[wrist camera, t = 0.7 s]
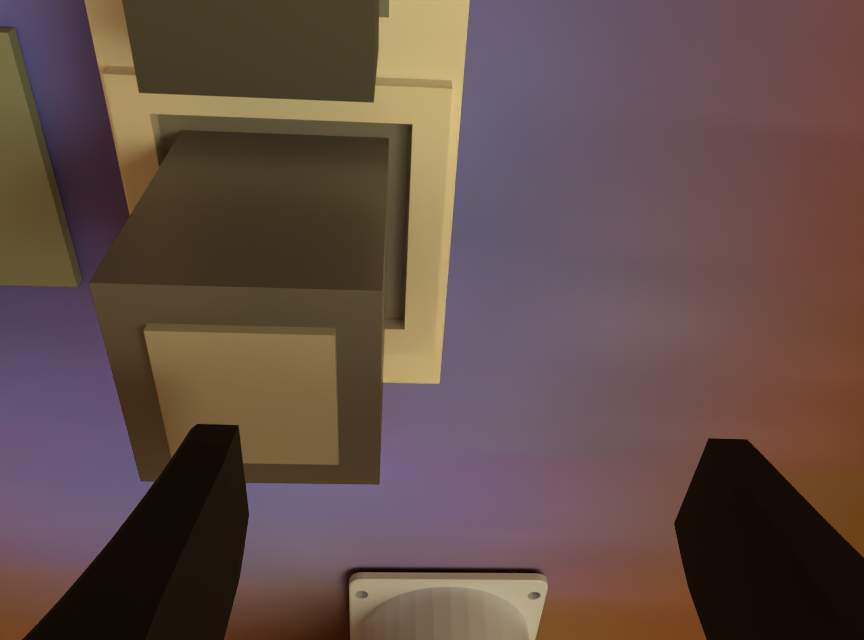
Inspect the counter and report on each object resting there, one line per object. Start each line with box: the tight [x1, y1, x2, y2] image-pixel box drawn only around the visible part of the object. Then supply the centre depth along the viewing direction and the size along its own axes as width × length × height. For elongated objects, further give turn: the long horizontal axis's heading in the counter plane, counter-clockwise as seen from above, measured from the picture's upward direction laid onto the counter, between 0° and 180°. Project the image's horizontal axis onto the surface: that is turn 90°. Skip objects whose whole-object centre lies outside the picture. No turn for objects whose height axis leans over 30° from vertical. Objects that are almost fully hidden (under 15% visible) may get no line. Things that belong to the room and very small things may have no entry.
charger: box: [89, 130, 389, 484], centre depth 15 cm, size 4×4×6 cm
